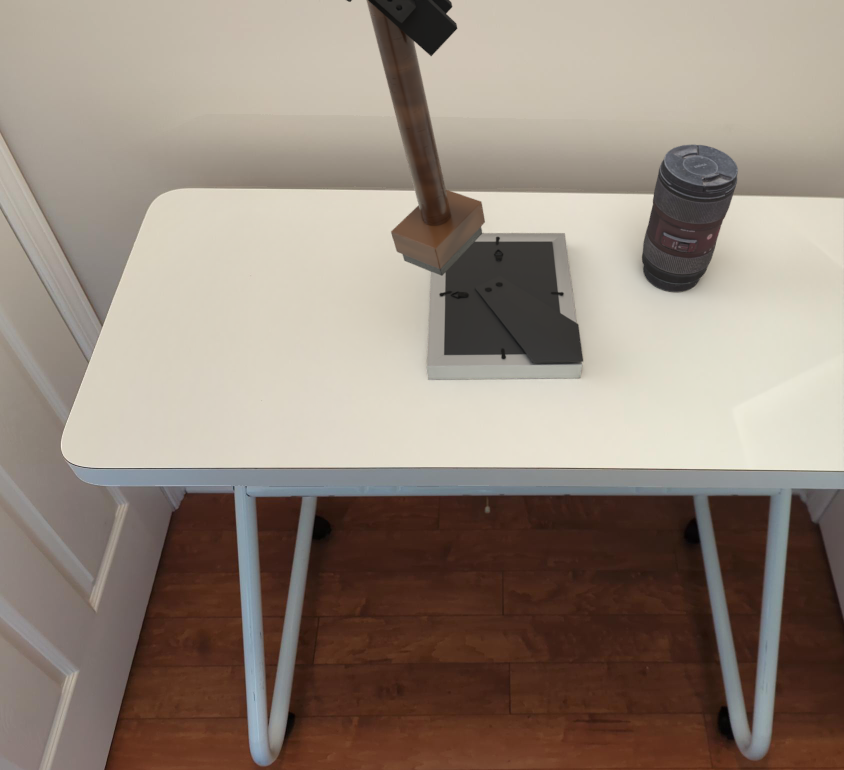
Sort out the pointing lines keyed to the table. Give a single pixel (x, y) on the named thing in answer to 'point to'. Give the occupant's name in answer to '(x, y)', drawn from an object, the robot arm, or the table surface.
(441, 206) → the brown piece
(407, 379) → the table surface
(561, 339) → the picture frame
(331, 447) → the table surface
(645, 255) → the camera lens
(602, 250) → the table surface
